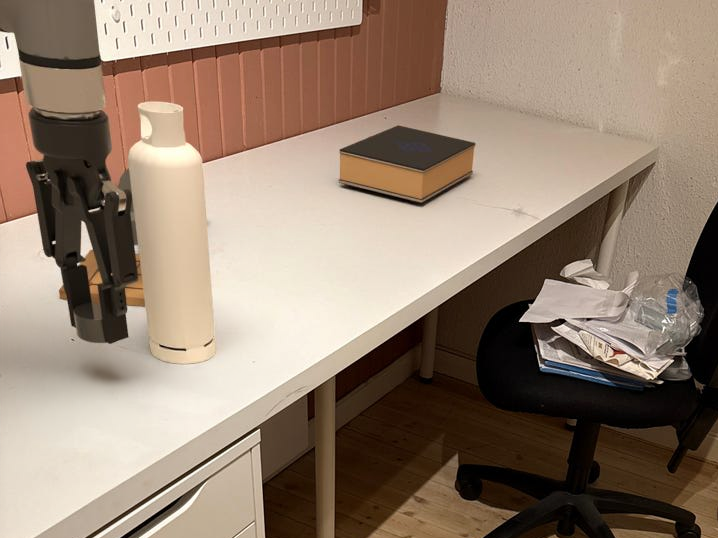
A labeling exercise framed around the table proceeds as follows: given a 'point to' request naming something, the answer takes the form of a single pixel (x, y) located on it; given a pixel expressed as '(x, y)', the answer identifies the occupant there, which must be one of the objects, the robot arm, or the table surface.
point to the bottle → (172, 236)
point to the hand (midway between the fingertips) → (99, 331)
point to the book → (406, 163)
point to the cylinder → (89, 322)
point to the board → (132, 290)
